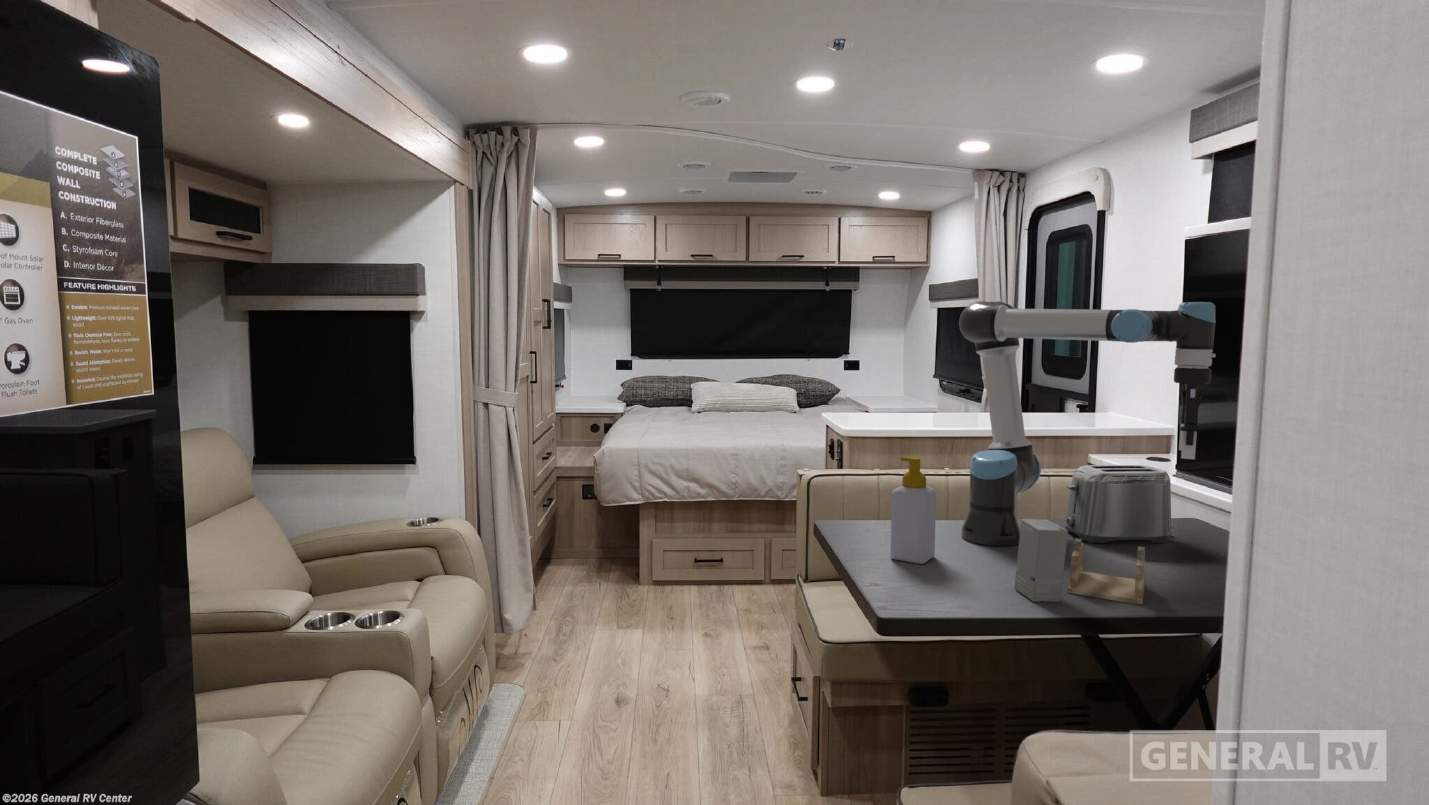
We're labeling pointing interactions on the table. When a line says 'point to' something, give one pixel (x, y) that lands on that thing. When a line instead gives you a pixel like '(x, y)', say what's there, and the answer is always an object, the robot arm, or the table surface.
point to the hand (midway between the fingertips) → (1186, 454)
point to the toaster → (1119, 503)
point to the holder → (1106, 580)
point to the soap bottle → (913, 517)
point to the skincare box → (1041, 560)
